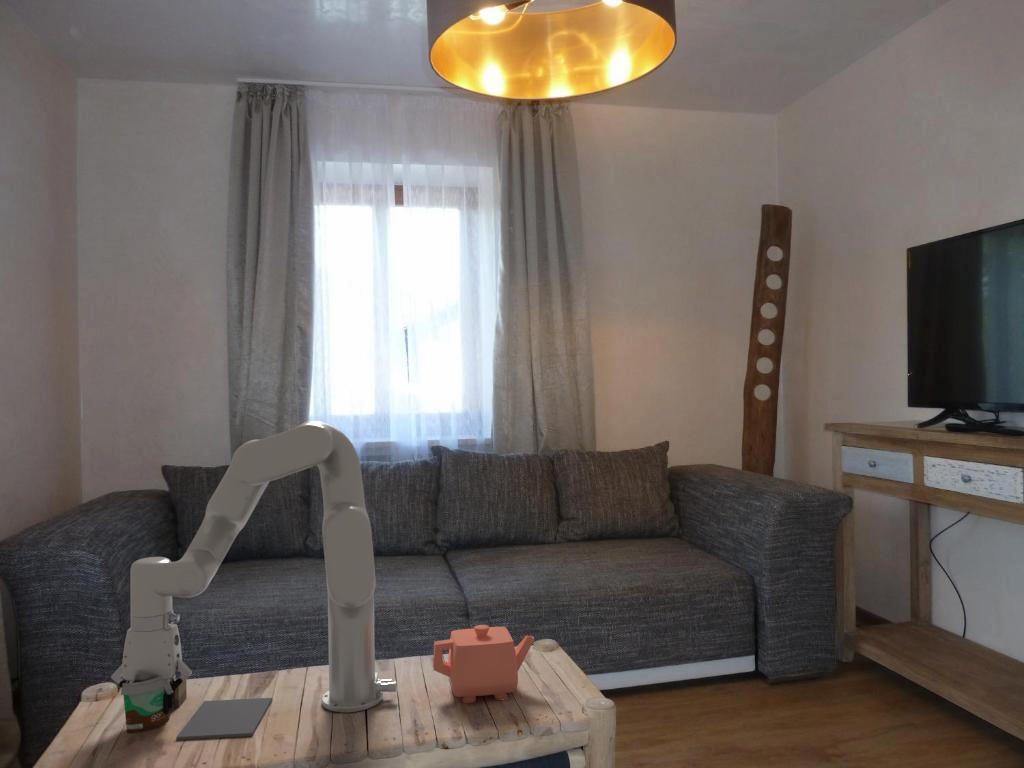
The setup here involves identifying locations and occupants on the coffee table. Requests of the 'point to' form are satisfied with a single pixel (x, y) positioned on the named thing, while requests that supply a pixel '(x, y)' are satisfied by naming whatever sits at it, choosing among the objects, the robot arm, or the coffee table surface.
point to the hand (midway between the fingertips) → (152, 711)
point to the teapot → (481, 661)
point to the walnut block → (180, 694)
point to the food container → (144, 704)
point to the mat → (226, 719)
